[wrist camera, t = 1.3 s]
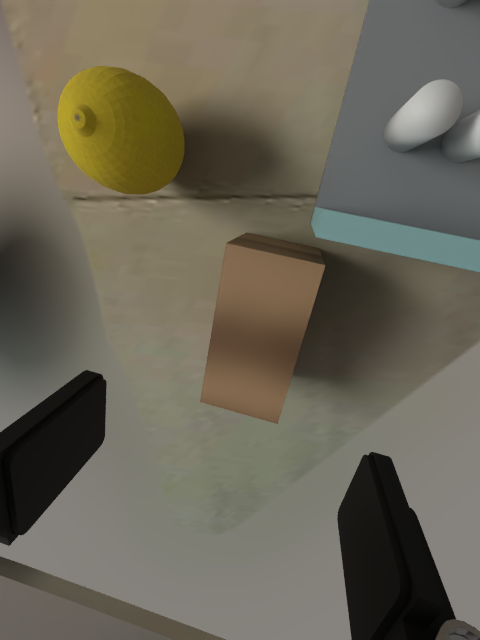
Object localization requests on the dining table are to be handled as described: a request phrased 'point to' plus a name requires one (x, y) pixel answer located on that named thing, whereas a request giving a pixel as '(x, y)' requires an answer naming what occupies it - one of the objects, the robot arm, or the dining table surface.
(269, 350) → the brown wooden block
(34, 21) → the dining table surface
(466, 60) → the peg frame
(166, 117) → the lemon
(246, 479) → the dining table surface
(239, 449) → the dining table surface
